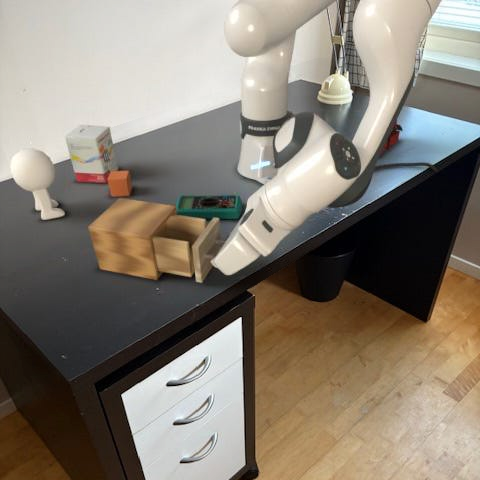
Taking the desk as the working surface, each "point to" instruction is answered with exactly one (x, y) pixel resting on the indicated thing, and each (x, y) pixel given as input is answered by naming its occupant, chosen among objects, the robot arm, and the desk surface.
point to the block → (119, 183)
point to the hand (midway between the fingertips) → (221, 252)
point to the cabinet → (129, 236)
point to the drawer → (187, 246)
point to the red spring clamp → (392, 137)
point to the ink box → (91, 153)
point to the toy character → (36, 179)
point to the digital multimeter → (210, 206)
